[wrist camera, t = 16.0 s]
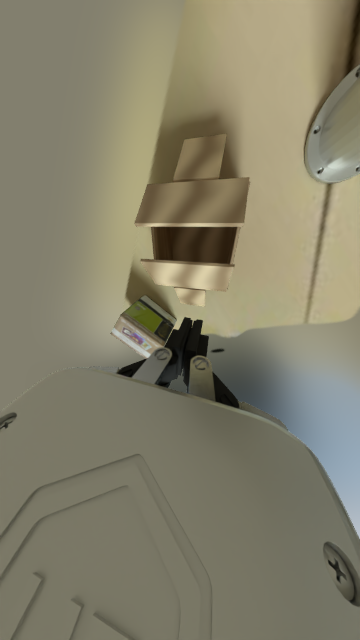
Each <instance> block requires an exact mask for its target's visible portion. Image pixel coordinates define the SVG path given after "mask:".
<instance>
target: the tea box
mask: <svg viewBox="0 0 360 640" xmlns="http://www.w3.org/2000/svg"><path fill="white" fill-rule="evenodd" d="M176 321H177V320H176V319H174V318H173V317H172V316H171V315H169V314H168V313H167V312H166V311H164V310H163V309H162V308H161V307H160V306H158V305H157V304H156V303H155V302H153V301H152V300H151V299H150V298H148V297H147V296H146V295H144V296H143V297H141V298H140V299H139V300H138V301H136V302H135V303H134V304H133V305H132V306H130V307H129V308H128V309H127V310H126V311H124V312H123V313H122V314H121V315H120V317H119V319H118V321H117V322H116V324H115V326H114V328H113V330H112V332H111V334H112V335H113V336H114V337H116V338H117V339H119V340H120V341H122V342H123V343H124V344H126V345H127V346H129V347H130V348H131V349H133V350H134V351H136V352H137V353H138V354H140V355H141V356H143V357H145V358H146V359H147V358H148V357H149V356H150V355H151V354H152V353H153V351H154V350H155V349H157V348H161V347H163V346H164V345H165V343H166V341H167V339H168V337H169V335H170V333H171V331H172V329H173V327H174V325H175V323H176Z"/></svg>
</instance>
